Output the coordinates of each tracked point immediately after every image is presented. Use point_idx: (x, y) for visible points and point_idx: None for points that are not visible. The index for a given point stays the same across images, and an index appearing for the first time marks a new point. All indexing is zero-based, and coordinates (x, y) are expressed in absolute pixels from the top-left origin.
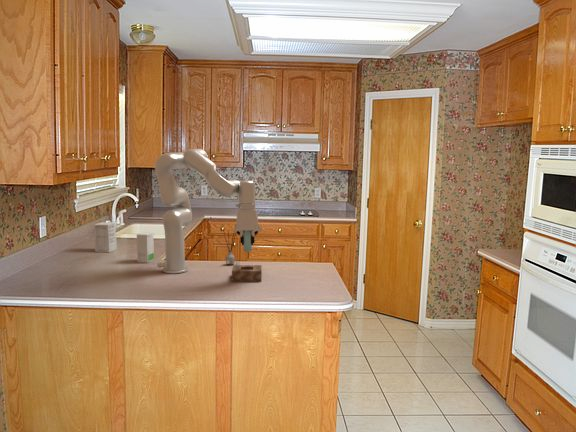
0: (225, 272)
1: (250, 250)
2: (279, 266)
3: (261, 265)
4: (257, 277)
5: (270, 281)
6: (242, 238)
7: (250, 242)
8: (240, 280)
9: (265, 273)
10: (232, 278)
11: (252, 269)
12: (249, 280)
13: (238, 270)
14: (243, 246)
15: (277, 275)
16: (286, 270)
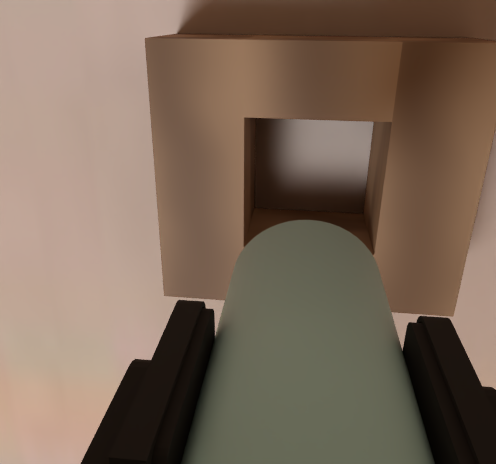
0: (486, 350)
1: (250, 246)
2: (77, 453)
3: (163, 286)
4: (206, 35)
5: (93, 33)
6: (486, 449)
7: (227, 343)
8: (383, 37)
9: (158, 296)
10: (475, 39)
11: (255, 234)
12: (291, 35)
13: (421, 80)
14: (394, 324)
15: (59, 232)
16: (14, 359)
